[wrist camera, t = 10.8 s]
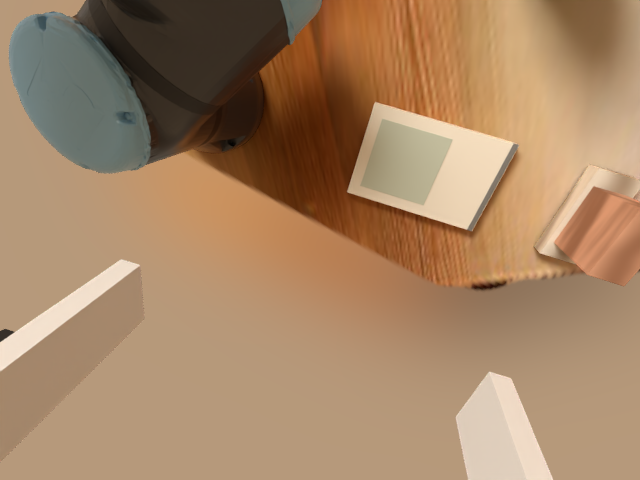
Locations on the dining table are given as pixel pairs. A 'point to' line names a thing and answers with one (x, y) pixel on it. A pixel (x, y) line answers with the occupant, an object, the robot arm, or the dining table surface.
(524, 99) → the dining table surface
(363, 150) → the white flat block
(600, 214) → the stub
